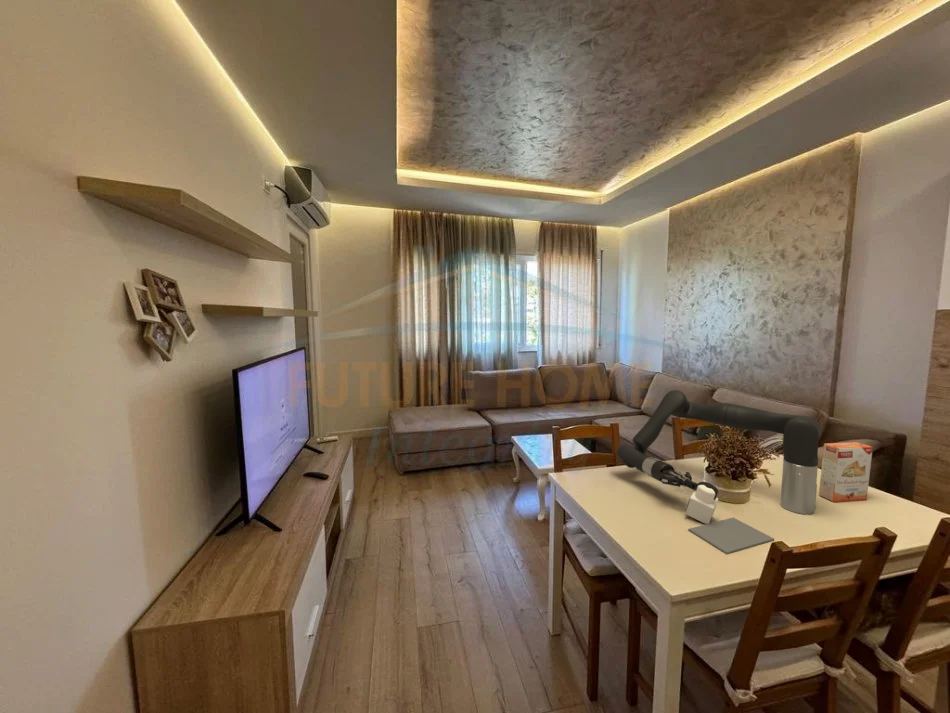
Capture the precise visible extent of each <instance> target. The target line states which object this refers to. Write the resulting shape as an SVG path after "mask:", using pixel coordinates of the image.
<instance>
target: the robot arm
mask: <svg viewBox="0 0 950 713" xmlns="http://www.w3.org/2000/svg"><path fill="white" fill-rule="evenodd" d="M670 416H673V417H676V418H682V419H690V420H698V421H702V422H706V423H711V424H716V425H720V426H723V427H724V426H725V427H729V428H732V429H736V430H745V431H764V432H773V433H777V434H780V435H782V437H783V438H782V453H783V454H782V455H783V459H782V460H783V463H782V473H781V474H782V476H781V491H780V506H781V507H783V509H785V510H788V511H790V512H791V513H792V512H793V513H796V514H801V515H813V514H814V513H815V510H816V507H817V506H816V505H817V491H818V484H817V482H818V468H819V454H818V453H819V452H818V451H819V442H820V441H819V440H820V437H821V435H822V432H823V428H822V425H821V424H820V422H818V421H817V420H816V419H814V418H812V417H810V416H806V415H797V414H787V413H780V412H779V413H778V412H771V411H766V410H762V409H759V408H754V407H749V406H744V405H740V404H736V403H735V404H734V403H730V402H729V403H728V402H727V403H726V402H720V403H719V402H718V403H712V404H702V403H697V402H692V401H689V399H688V398H687V396H686V394H685V393H684V392H682V391H680V390H678V389H677V390H670V391H668V392H667V393H666V394H665V395H664V396H663V398H662V400H661V401H660V403H659V404H658V406H657V407H656V409H655V411H654V412H653V413H652V414H651V416H650V418H649V419H648V421H647V422H646V423H645V424H644V425H643V427H641V429H639V431H638V432H637V433H636V434H635V435H634V436H633V438H632V442H633V443H632V444H633V445H634V447H633V446H631V445H629V444H623V445H620V446H618V447H617V449H616V456H617V458H618V459H619V460H620V461H621V462H622V463H623V464H624V465H625V466H626V467H627V468H630V469H634V468H636V470H637V471H639V472H642V473H643V474H646V475H647V476H648V477H651V478H653V479H655V480H656V481H658V482H660V483H661V484H663V485H669V486H674V487H678V488H679V487H684V488H685V487H686V488H689V489H690V490H693V491H694V490H696V488H697V485H698V482H696V481H695V482H694V481H693V478H692V475H691V473H690V472H689V471H685V472H684V473H682V472H681V471H678V470H675V468H674V466H673V465H672V464H670V463H667V462H666V461H663V460H660V459H659V458H656V457H655V458H654V457H652V456H650V455H647V454H646V453H647V451H648V449H649V448H650V446H651V445H653V443H654V442H655V441H657V439H658V437H659V436H660V434H661V431H662V429H663V428H664V425H665V424H666V422H667V421H668V419H669V417H670Z"/></svg>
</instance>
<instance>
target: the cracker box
mask: <svg viewBox="0 0 950 713" xmlns="http://www.w3.org/2000/svg"><path fill="white" fill-rule="evenodd" d="M873 448H874V447H873V446H871V445H867V444H864V443H861V442H856V441H853V442H852V441H851V442H829V443H828V442H827V443H823V449H822V450H823V451H822V462H821V470H820V478H819V479H820V482H819V492H818V496H820V497H822V498H824V499H826V500H828V501H830V502H833V503H837V502H838V503H839V502H841V503H842V502H855V501H867V498H868V492H869V482H870V474H871V473H870V472H871V466H872V457H873Z"/></svg>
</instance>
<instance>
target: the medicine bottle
mask: <svg viewBox="0 0 950 713" xmlns="http://www.w3.org/2000/svg"><path fill="white" fill-rule="evenodd" d="M697 484H698V485H697V488H696V490H693V492H692V494H691V495H690V497H689V500H688V504H687V507H686V509H685V514H686V516H688V517H690V518H693V519H694V520H697V521H699V522H700V523H703V524H704V525H706V524H710V523H711V520H712V518H713V516H714V513H715V511H716V508H717V505H718V502H719V498H718V497H717V496H718V494H719V490H718V488H717V486H715V485H714V484H712V483H710V482H707V481H699V482H697Z"/></svg>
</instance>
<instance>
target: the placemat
mask: <svg viewBox="0 0 950 713" xmlns="http://www.w3.org/2000/svg"><path fill="white" fill-rule="evenodd" d="M688 532H689V533H692V534H693V535H695V536H696V537H697V538H700V539H701V540H702V541H704V542H706V543H707V544H709V545H711V546H713V547H714V548H715V549H717V550H719V551H720V552H722V553H724V554H725V555H730V554H733V553H737V552H740V551H742V550H743V551H744V550H747V549H750V548H752V547H753V548H754V547H757V546H759V545H763V544H767V543H771V542H773V541H775V538H774V537H772V536H771V535H768V534H766V533H764V532H763V531H760V530H758V529H757V528H754V527H753V526H751V525H749V524H747V523H745V522H743V521H741V520H739V519H737V518H735V517H730V518H726V519H722V520H718V521H714V522H710V523H709V524H702V525H699V526H693V527H690V528H688ZM772 540H773V541H772ZM769 541H770V542H769Z"/></svg>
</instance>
